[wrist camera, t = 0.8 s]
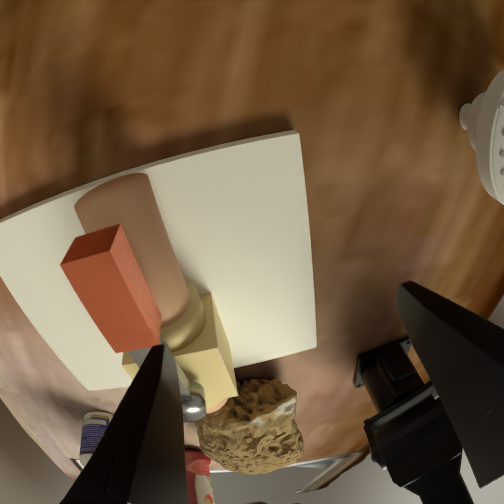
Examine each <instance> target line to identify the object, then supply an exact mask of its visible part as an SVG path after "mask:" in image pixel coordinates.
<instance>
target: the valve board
mask: <svg viewBox="0 0 504 504" xmlns="http://www.w3.org/2000/svg"><path fill="white" fill-rule="evenodd" d="M117 224H121V226H122V228H123V231H124V233H125V235H126V238H127V240H128V243H129V245H130V247H131V250H132V252H133V254H134V256H135V259H136V261H137V263H138V265H139V268H140V270H141V272H142V274H143V277H144V279H145V281H146V283H147V285H148V287H149V289H150V291H151V294H152V296H153V298H154V300H155V302H156V304H157V306H158V308H159V310H160V312H161V330H160V333H161V334H162V336H163V338H164V340H165V342H166V343H167V345H168V347H169V349H170V350H171V352H172V354H173V356H174V357H175V359H176V361H177V362H178V364H179V366H180V367H181V369H182V371H183V372H184V374H185V376H186V377H187V379H188V380H191V381H195V382H197V383H199V384H201V385H202V386H203V388H204V391H205V401H206V411H207V413H212V412H215V411H217V410H218V409H220V408H221V407H222V406H223V405H224V404H225V403H226V402H227V400H228V398H230V397H234V396H238V391H237V385H236V379H235V374H234V368H237V367H242V366H246V365H250V364H255V363H259V362H263V361H267V360H271V359H275V358H279V357H283V356H286V355H290V354H294V353H297V352H301V351H305V350H308V349H312V348H315V347H317V344H316V319H315V300H314V283H313V268H312V254H311V241H310V229H309V218H308V207H307V197H306V188H305V178H304V169H303V161H302V153H301V144H300V137H299V133H298V132H296V131H295V130H290V131H285V132H279V133H273V134H268V135H263V136H258V137H253V138H248V139H243V140H238V141H234V142H229V143H225V144H220V145H216V146H212V147H208V148H203V149H199V150H195V151H192V152H188V153H184V154H180V155H176V156H173V157H169V158H165V159H162V160H158V161H155V162H151V163H148V164H145V165H141V166H138V167H135V168H132V169H129V170H125V171H122V172H119V173H116V174H113V175H110V176H107V177H104V178H101V179H98V180H95V181H93V182H90V183H87V184H84V185H82V186H79V187H76V188H73V189H71V190H68V191H66V192H63V193H60V194H58V195H55V196H53V197H50V198H48V199H45V200H43V201H40V202H38V203H36V204H33V205H31V206H29V207H26V208H24V209H22V210H20V211H17V212H15V213H13V214H11V215H8V216H6V217H4V218H2V219H0V276H1V278H2V280H3V281H4V283H5V284H6V286H7V288H8V289H9V291H10V292H11V294H12V295H13V297H14V298H15V300H16V301H17V303H18V304H19V306H20V307H21V309H22V310H23V312H24V313H25V314H26V316H27V317H28V319H29V320H30V321H31V323H32V324H33V325H34V327H35V328H36V330H37V331H38V332H39V333H40V335H41V336H42V337H43V339H44V340H45V341H46V342H47V344H48V345H49V346H50V347H51V349H52V350H53V351H54V352H55V354H56V355H57V356H58V357H59V358H60V360H61V361H62V362H63V363H64V364H65V365H66V367H67V368H68V369H69V370H70V371H71V372H72V373H73V374H74V376H75V377H76V378H77V379H78V380H79V381H80V382H81V383H82V384H83V385H84V386H85V387H86V389H87V390H88V391H92V390H103V389H112V388H121V387H129V386H130V384H131V382H132V381H133V379H134V377H135V375H136V373H137V372H138V370H139V367H138V365H137V364H136V363H135V361H134V360H133V358H132V357H131V356H130V354H129V353H128V351H127V352H121V353H115V352H114V350H113V349H112V347H111V346H110V345H109V343H108V342H107V340H106V339H105V337H104V336H103V335H102V333H101V332H100V330H99V329H98V327H97V326H96V324H95V323H94V321H93V320H92V318H91V317H90V315H89V313H88V312H87V310H86V309H85V307H84V305H83V304H82V302H81V301H80V299H79V297H78V296H77V294H76V292H75V291H74V289H73V287H72V286H71V284H70V282H69V280H68V279H67V277H66V275H65V273H64V272H63V270H62V268H61V266H60V264H61V262H62V260H63V258H64V256H65V255H66V253H67V251H68V249H69V247H70V246H71V244H72V242H73V240H74V239H75V237H78V236H81V235H85V234H88V233H91V232H94V231H97V230H101V229H104V228H107V227H111V226H114V225H117ZM207 413H206V414H207Z"/></svg>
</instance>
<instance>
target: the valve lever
mask: <svg viewBox="0 0 504 504" xmlns="http://www.w3.org/2000/svg"><path fill="white" fill-rule="evenodd" d="M60 266H61V268H62V270H63V272H64V273H65V275H66V277H67V279H68V280H69V282H70V284H71V286H72V287H73V289H74V291H75V292H76V294H77V296H78V297H79V299H80V301H81V302H82V304H83V305H84V307H85V309H86V310H87V312H88V313H89V315H90V317H91V318H92V320H93V321H94V323H95V324H96V326H97V327H98V329H99V330H100V332H101V333H102V335H103V336H104V337H105V339H106V340H107V342H108V343H109V345H110V346H111V347H112V349H113V350H114V352H115V353H121V352H127V351H128V353H129V354H130V356H131V357H132V358H133V360H134V361H135V363H136V364H137V365H138V367H139V368H140V366H141V365H142V363H143V361H144V359H145V358H146V356H147V354H148V352H149V351H150V349H151V347H152V346H154V345H158V344H166V345H167V343H166V342H165V340H164V338H163V336H162V334H161V333H160V330H161V312H160V310H159V308H158V306H157V304H156V302H155V300H154V298H153V296H152V294H151V291H150V289H149V287H148V285H147V283H146V281H145V279H144V277H143V274H142V272H141V270H140V268H139V265H138V263H137V261H136V259H135V256H134V254H133V252H132V250H131V247H130V245H129V243H128V240H127V238H126V235H125V233H124V231H123V228H122V226H121V224H117V225H114V226H111V227H107V228H104V229H101V230H97V231H94V232H91V233H88V234H85V235H81V236H78V237H75V239H74V240H73V242H72V244H71V246H70V247H69V249H68V251H67V253H66V255H65V256H64V258H63V260H62V262H61V264H60ZM167 347H168V345H167ZM168 348H169V347H168ZM169 350H170V349H169ZM170 352H171V350H170ZM171 354H172V352H171ZM172 356H173V354H172ZM173 357H174V356H173ZM174 359H175V357H174ZM175 362H176V366H177V373H178V380H179V387H180V394H181V400H182V407H183V422H192V421H196V420H199V419H201V418H203V417H204V416H205V415H206V413H207V411H206V401H205V391H204V388H203V386H202V385H201V384H199V383H197V382H195V381H191V380H188V379H187V377H186V376H185V374H184V372H183V371H182V369H181V367H180V366H179V364H178V362H177V361H176V359H175Z"/></svg>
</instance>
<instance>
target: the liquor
mask: <svg viewBox="0 0 504 504" xmlns="http://www.w3.org/2000/svg"><path fill="white" fill-rule="evenodd" d="M210 462H211V459H210V458H209V457H207V456H206V455H205V454H203V453H202V452H200V451H198V450H195V449H185V463H186V477H187V489H188V501H189V504H215V501H214V495H213V490H212V484H211V478H210V471H209V464H210Z"/></svg>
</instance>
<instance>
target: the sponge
mask: <svg viewBox="0 0 504 504" xmlns="http://www.w3.org/2000/svg"><path fill="white" fill-rule="evenodd" d="M236 385H237V391H238V396H234V397H230V398H228V400H227V402H226V403H225V404H224V405H223V406H222V407H221V408H220V409H218V410H217V411H215V412H212V413H207V414H206V415H205V416H204V417H203V418H201V419H199V420H197V425H198V431H197V434H198V437H199V442H200V446H201V448H202V451H203V452H204V453H206V454H207V455H208V456H209V457H210V458H211V459H212V460H214V461H216V462H217V463H220V464H221V465H222V466H223V467H225V468H226V469H227V470H230V471H234V472H238V473H244V474H265V473H269V472H272V471H273V470H275V469H280V468H282V467H285V466H289V465H291V464H293V463H295V462H297V461H298V459H299V458H300V457H301V456H302V455H303V453H304V442H303V437H302V435H301V432H300V431H299V430H298V429H297V424H296V423H295V422H294V420H293V418H294V416H295V414H296V402H297V392H296V391H294V390H293V389H292V388H290V387H289V386H288V385H287V384H281V382H280V381H279V380H277V379H273V380H271V381H269V380H267V379H252V380H250V382H249V381H247V380H244V381H243V385H241V384H240V383H239V382H238V381H236Z"/></svg>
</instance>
